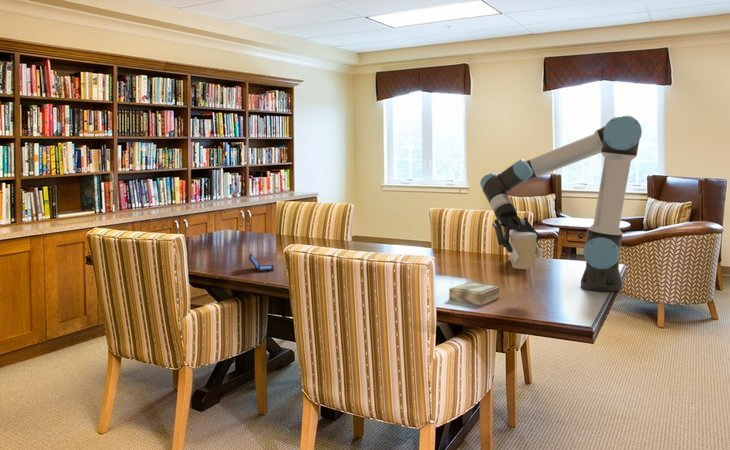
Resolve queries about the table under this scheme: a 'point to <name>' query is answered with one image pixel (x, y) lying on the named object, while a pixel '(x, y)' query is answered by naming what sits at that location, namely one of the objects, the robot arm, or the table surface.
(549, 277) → the table surface
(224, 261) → the table surface
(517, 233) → the coffee cup
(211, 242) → the table surface
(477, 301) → the birch riser
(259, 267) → the handheld game console
